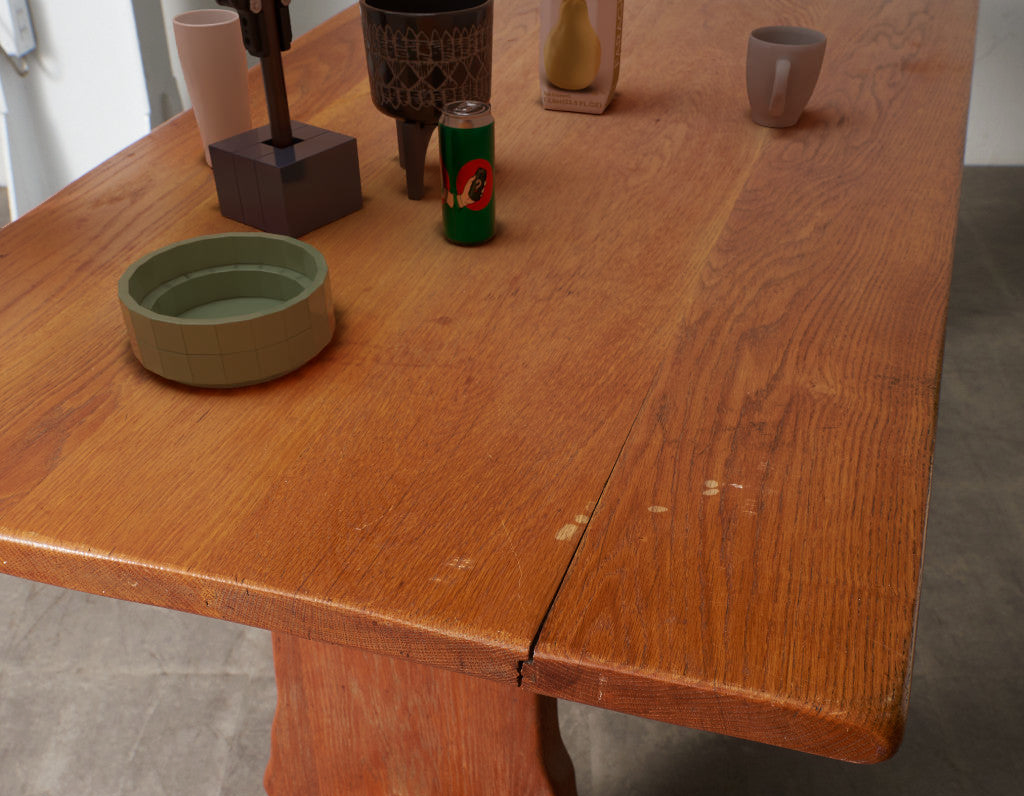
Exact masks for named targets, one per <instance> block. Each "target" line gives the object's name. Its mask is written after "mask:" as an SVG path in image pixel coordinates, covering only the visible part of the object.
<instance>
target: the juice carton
mask: <svg viewBox="0 0 1024 796" xmlns="http://www.w3.org/2000/svg"><path fill="white" fill-rule="evenodd" d="M624 10H625V0H539V34H538V35H539V43H538V44H539V45H538V47H539V48H538V49H539V50H538V78H539V79H538V81H539V89H540V95H541V101H542V106H543V108H544V109H546V110H552V111H553V110H554V111H562V112H563V111H564V112H573V113H574V112H575V113H583V114H593V115H601V114H603V112H604V111H605V110H606V108H607V107H608V106H609V105H610V104H611V102H612V100H613V98H614V96H615V93H616V90H617V86H618V82H619V78H620V70H621V60H622V59H621V58H622V57H621V56H622V43H623V42H622V41H623V26H624Z"/></svg>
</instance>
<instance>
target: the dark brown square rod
mask: <svg viewBox="0 0 1024 796" xmlns="http://www.w3.org/2000/svg"><path fill="white" fill-rule="evenodd" d="M261 3H262V8H261V11H260V12H263V13H264V15H265V22H266V29H267V36H268V43H269V50H270V55H269V56H268V57H264V58H259V64H260V69H261V71H260V72H261V78H262V84H263V91H264V97H265V105H266V109H267V117H268V124H270V131H271V137H272V144H273V147H276V148H279V149H281V150H282V149H284V148H287V147H290V146H292V145H294V142H293V135H292V127H291V120H290V119H291V113H290V107H289V100H288V92H287V91H288V90H287V85H286V78H285V77H286V76H285V70H284V63H283V62H284V61H283V56H282V52H281V47H280V40H279V32H278V25H277V18H276V11H275V3H274V0H261Z"/></svg>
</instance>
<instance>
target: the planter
mask: <svg viewBox="0 0 1024 796" xmlns="http://www.w3.org/2000/svg"><path fill="white" fill-rule="evenodd" d="M358 5H359V14H360V21H361V29H362V36H363V37H362V38H363V45H364V52H365V53H364V54H365V60H366V68H367V75H368V82H369V90H370V97H371V102H372V104H373V105H374V107H375V109H376V110H377V111H379V113H381V114H383V115H384V116H386V117H389V118H391V119H395V126H396V127H395V128H396V137H397V148H398V157H399V167H400V168H402V169H403V170H404V169H405V178H406V179H405V181H406V191H407V199H409V200H417V201H420V200H421V199H422V198H424V197H425V166H426V165H425V164H426V160H427V159H426V158H427V152H428V149H429V144H430V142H431V138H432V135H433V133H434V132H435V130H436V129H437V128H438V119H439V117H440V115H441V114H442V111H441V109H442V107H443V106H444V105H445V104H448V103H451V102H455V101H478V102H482V103H485V104H487V105H489V107H490V113H491V114H492V104H491V102H490V101H491V98H492V79H493V78H492V77H493V73H492V72H493V49H494V47H493V46H494V44H493V43H494V15H495V14H494V13H495V0H358Z"/></svg>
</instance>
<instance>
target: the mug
mask: <svg viewBox="0 0 1024 796" xmlns="http://www.w3.org/2000/svg"><path fill="white" fill-rule="evenodd" d="M827 41H828V38H827V36H826V34H825V33H823V32H821V31H820V30H817V29H813V28H810V27H809V28H808V27H803V26H797V25H767V26H761V27H757V28H755V29H753V30H752V31H751V32H750V33H749V36H748V41H747V50H746V61H745V62H746V63H745V83H746V92H747V93H746V94H747V98H748V99H747V100H748V103H749V106H750V109H751V116H752V121H753V123H755V124H758V125H760V126H763V127H767V128H789V127H793V126H795V125H797V124H798V121H799V119H800V117H801V115H802V113H803V111H804V110H805V108H806V107H807V105H808V103H809V101H810V100H811V97H812V95H813V93H814V91H815V88H816V86H817V83H818V81H819V77H820V74H821V71H822V66H823V62H824V59H825V54H826V49H827V44H828V43H827Z"/></svg>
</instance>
